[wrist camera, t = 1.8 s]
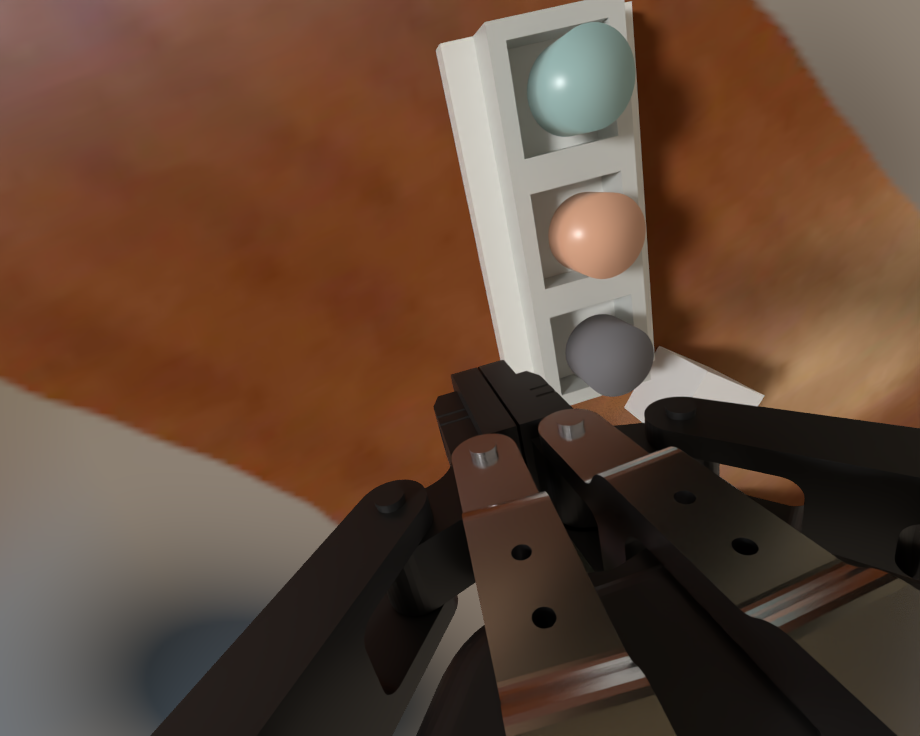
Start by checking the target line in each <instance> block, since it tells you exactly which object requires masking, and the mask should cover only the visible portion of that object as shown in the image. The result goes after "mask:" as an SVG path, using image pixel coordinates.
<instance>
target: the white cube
mask: <svg viewBox="0 0 920 736" xmlns="http://www.w3.org/2000/svg"><path fill="white" fill-rule="evenodd" d="M650 375H651V380H649V381H646V382H643V383H641V384H640V385H639V386H638V387H637V388H635V389H634V391H633V393H632V395H631V396H630V398H629V400H628V402H627V404H626V405H625V407H624V408H625V409H627V410H628V411H629V412H630V413H632V414H633V415H634V416H635V417H636V418H638V419H639V420H640V421H641V422H642V423H645V418H644V412H645V409H646V408H647V407H648V405H650V404H651V403H653V402H655V401H657V400H660V399H663V398H668V397H693V398H701V399H708V400H715V401H723V402H730V403H737V404H744V405H752V406H758V405H759V404H760V402H761V401H762V399H763V397H764V396H765V395H763V394H761V393H759V392H757V391H755V390H753V389H751V388H749V387H747V386H745V385H743V384H741V383H740V382H738V381H736V380H734V379H732V378H730V377H728V376H726V375H724V374H722V373H720V372H718V371H716V370H714V369H712V368H710V367H708V366H706V365H703V364H701V363H698V362H696V361H694V360H691V359H689V358H687V357H684V356H682V355H680V354H677V353H675V352H673V351H670V350H668V349H666V348H663V347H661V346H659V347H658V348H657V350H656V352H655V361H653V364H652V367H651V370H650Z"/></svg>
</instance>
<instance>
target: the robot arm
mask: <svg viewBox="0 0 920 736" xmlns="http://www.w3.org/2000/svg"><path fill="white" fill-rule="evenodd" d="M451 379H452V384H453V388H454V392H452V393H449V394H445V395H442V396H438V398H437V400H436V402H435V405H434V411H435V414H436V418H437V422H438V425H439V429H440V433H441V437H442V440H443V444H444V448H445V451H446V455H447V458H448V461H449V463H450V468H449V470H448V471H447V473H446V474H445V475H444V476H443V477H442V478H441V479H440V480H438V481H437V482H435V483H434V484H432V485H430V486H429V487H427V488H424V487H423V485H421V484H420V483H418V482H416V481H412V480H396V481H391V482H388V483H385V484H383V485H380V486H378V487H376V488H375V489H373V490H372V491H370V492H369V493H368V494H366V495H365V496H364V497H363V498H362V500H361V501H360V502H359V503H358V504H357V505H356V506H355V507H354V508H353V510H352V511H351V512H350V513H349V514H348V515H347V516H346V517H345V519H344V520H343V521H342V522H341V523H340V524H339V525H338V526H337V528H336V529H335V530H334V531H333V532H332V533H331V534H330V535H329V536H328V538H327V539H326V540H325V541H324V542H323V543H322V544H321V545H320V547H319V548H318V549H317V550H316V551H315V552H314V553H313V554H312V556H311V557H310V558H309V559H308V560H307V561H306V562H305V563H304V564H303V566H302V567H301V568H300V569H299V570H298V571H297V572H296V574H295V575H294V576H293V577H292V578H291V579H290V580H289V581H288V582H287V584H286V585H285V586H284V587H283V588H282V589H281V590H280V591H279V592H278V594H277V595H276V596H275V597H274V598H273V599H272V600H271V601H270V603H269V604H268V605H267V606H266V607H265V608H264V609H263V610H262V612H261V613H260V614H259V615H258V616H257V617H256V618H255V619H254V620H253V622H252V623H251V624H250V625H249V626H248V627H247V628H246V629H245V630H244V632H243V633H242V634H241V635H240V636H239V637H238V638H237V639H236V641H235V642H234V643H233V644H232V645H231V646H230V648H228V650H227V651H226V652H225V653H224V654H223V655H222V656H221V657H220V659H219V660H218V661H217V662H216V663H215V664H214V665H213V666H212V667H211V669H210V670H209V671H208V672H207V673H206V674H205V675H204V676H203V678H202V679H201V680H200V681H199V682H198V683H197V684H196V685H195V686H194V688H193V689H192V690H191V691H190V692H189V693H188V694H187V696H186V697H185V698H184V699H183V700H182V701H181V702H180V703H179V704H178V705H177V707H176V708H175V709H174V710H173V711H172V712H171V713H170V714H169V716H168V717H167V718H166V719H165V720H164V721H163V722H162V723H161V725H160V726H159V727H158V728H157V729H156V730H155V731H154V732H153V733H152V735H151V736H392V734H393V733H394V731H395V729H396V727H397V725H398V723H399V721H400V719H401V717H402V715H403V713H404V711H405V709H406V707H407V705H408V703H409V701H410V699H411V698H412V696H413V694H414V692H415V690H416V688H417V686H418V684H419V682H420V680H421V678H422V676H423V674H424V672H425V670H426V668H427V666H428V664H429V662H430V660H431V658H432V656H433V655H434V653H435V651H436V649H437V647H438V645H439V643H440V641H441V639H442V637H443V635H444V633H445V631H446V629H447V627H448V625H449V623H450V621H451V619H452V617H453V616H454V614H455V611H456V609H457V604H458V597H457V595H458V594H459V593H461V592H462V591H464V590H465V589H466V588H468V587H469V586H471V585H472V584H474V583H475V582H476V585H477V591H478V596H479V600H480V605H481V610H482V615H483V620H484V624H485V625H484V626H482V627H481V628H480V629H479V630H477V631H476V632H475V633H474V634H473V635H472V636H471V637H470V638H469V639H468V640H467V641H466V642H465V643H464V644H463V646H462V647H461V648H460V650H459V651H458V652H457V654H456V655H455V656H454V658H453V659H452V661H451V663H450V665H449V666H448V668H447V670H446V671H445V673H444V674H443V676H442V679H441V681H440V683H439V685H438V687H437V689H436V692H435V694H434V696H433V699H432V701H431V703H430V706H429V708H428V710H427V712H426V715H425V717H424V719H423V721H422V724H421V726H420V729H419V731H418V733H417V735H416V736H920V428H912V427H905V426H898V425H890V424H883V423H876V422H868V421H861V420H854V419H847V418H839V417H832V416H825V415H817V414H810V413H803V412H796V411H788V410H781V409H774V408H766V407H759V406H752V405H744V404H737V403H730V402H723V401H715V400H708V399H701V398H693V397H668V398H663V399H660V400H657V401H655V402H653V403H651V404H650V405H648V407H647V408H646V409H645V412H644V418H645V423H638V424H628V425H617V426H613V425H612V424H610V423H609V422H608V421H607V420H605V419H604V418H603V417H601V416H600V415H599V414H597V413H595V412H593V411H590V410H585V409H573V408H572V407H571V406H570V405H569V404H568V403H567V402H566V401H565V400H564V399H563V398H562V397H561V396H560V395H559V394H558V393H557V392H555V390H554V389H553V388H552V387H551V386H550V385H549V384H548V383H547V382H546V381H545V380H544V379H543V378H542V377H541V376H540V375H537V374H535V373H532V372H529V371H524V372H520V373H517V374H516V373H515V372H514V371H513V370H512V369H511V367H510V366H509V365H508V364H507V363H506V362H505V361H504V360H501V361H497V362H494V363H490V364H487V365H483V366H480V367H478V369H477V368H473V369H469V370H466V371H462V372H459V373H455V374H452V375H451ZM719 464H724V465H728V466H733V467H738V468H742V469H747V470H752V471H756V472H761V473H766V474H770V475H775V476H780V477H783V478H786V479H789V480H791V481H793V482H794V483H795V484H797V485H798V486H799V487H800V488H801V490H802V491H803V493H804V496H805V502H804V505H803V506H788V505H784V504H780V503H776V502H772V501H768V500H764V499H760V498H756V497H752V496H748V495H745V494H744V493H743V492H741V491H740V490H738V489H737V488H735V487H734V486H732V485H731V484H730V483H728V482H727V481H725V480H724V479H722V478H721V477H719Z"/></svg>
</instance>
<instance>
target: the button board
mask: <svg viewBox="0 0 920 736" xmlns="http://www.w3.org/2000/svg"><path fill="white" fill-rule="evenodd" d="M589 22H600V23H605V24H607V25H610V26H612V27H613V28H615V29H616V30H618V31H619V32H620V33H621V34H622V35H623V36H624V38H625V39H626V41H627V42H628V44H629V46H630V48H631V50H632V53H633V57H634V61H635V46H634V31H633V15H632V1H631V2H626V3H624V0H584V1H580V2H575V3H570V4H566V5H561V6H557V7H552V8H548V9H543V10H538V11H534V12H529V13H525V14H520V15H516V16H511V17H506V18H502V19H497V20H493V21H488V22H484V24H483V25H482V26H481V27H480V29H479V30H478V31H477V32H476V34H475V35H474V36H473V37H468V38H464V39H459V40H455V41H450V42H445V43H441V44H440V45H439V46H438V48H437V49H436V54H437V59H438V63H439V68H440V73H441V78H442V83H443V87H444V92H445V97H446V102H447V106H448V111H449V116H450V121H451V126H452V130H453V135H454V140H455V145H456V149H457V154H458V159H459V164H460V169H461V173H462V178H463V183H464V188H465V193H466V197H467V202H468V207H469V212H470V216H471V221H472V226H473V231H474V236H475V240H476V245H477V250H478V255H479V259H480V264H481V269H482V274H483V279H484V283H485V288H486V293H487V298H488V302H489V307H490V312H491V317H492V322H493V326H494V331H495V336H496V341H497V345H498V350H499V355H500V360H504V361H505V362H506V363H507V364H508V365H509V366H510V367H511V369H512V370H513V371H514V372H515V373H516V374H517V373H520V372H524V371H529V372H532V373H535V374H537V375H540V376H541V377H542V378H543V379H544V380H545V381H546V382H547V383H548V384H549V385H550V386H551V387H552V388H553V389H554V390H555V392H557V393H558V394H559V395H560V396H561V397H562V398H563V399H564V400H565V401H566V402H567V403H568V404H569V405H573V404H576V403H579V402H582V401H586V400H589V399H592V398H595V397H598V396H601V394H599V393H597V392H596V391H595V390H593V389H592V388H591V387H590V386H589V385H588V384H586V383H585V382H584V381H583V380H582V379H580V378H579V377H578V376H577V375H576V374H575V373H574V372H572V370H571V369H570V368H569V366H568V364H567V361H566V355H565V351H566V344H567V341H568V338H569V336H570V334H571V333H572V331H573V330H574V328H575V327H576V326H577V325H578V324H579V323H581V322H582V321H583V320H585V319H587V318H588V317H591V316H593V315H598V314H608V315H612V316H615V317H617V318H619V319H621V320H623V321H625V322H627V323H629V324H631V325H633V326H635V327H637V328H639V329H640V330H642V331H643V332H645V333H646V334H647V335H648V336H649V338H650V340H651V342H652V344H653V349H654V339H653V324H652V308H651V293H650V277H649V262H648V246H647V231H646V235H645V241H644V245H643V247H642V250H641V252H640V254H639V256H638V257H637V259H636V260H635V262H634V263H633V264H632V265H631V266H630V267H629V268H628V269H627V270H626V271H624V272H623V273H621V274H619V275H617V276H615V277H612V278H608V279H596V278H592V277H589V276H586V275H584V274H581V273H579V272H576V271H574V270H571V269H568V268H566V267H564V266H563V265H561V264H560V263H559V262H558V261H557V260H556V259H555V257H554V256H553V254H552V252H551V249H550V246H549V240H548V231H549V226H550V222H551V219H552V217H553V215H554V213H555V211H556V210H557V208H558V207H559V206H560V205H561V204H562V203H563V202H564V201H565V200H566V199H568V198H569V197H571V196H573V195H575V194H578V193H581V192H614V193H620V194H624V195H626V196H628V197H630V198H631V199H633V200H634V201H635V202H636V203H637V204H638V206H639V207H640V209H641V211H642V213H643V215H644V219H645V224H646V216H645V200H644V185H643V169H642V154H641V139H640V123H639V108H638V92H637V77H636V76H635V85H634V90H633V93H632V96H631V99H630V101H629V103H628V105H627V107H626V109H625V110H624V111H623V113H622V114H621V115H620V116H619V118H618V119H617V120H615V121H614V122H613V123H612V124H610V125H609V126H607V127H605V128H603V129H600V130H597V131H593V132H588V133H584V134H579V135H575V136H570V137H560V136H555V135H552V134H550V133H548V132H547V131H545V130H544V129H543V128H542V127H541V126H540V125H539V124H538V123H537V122H536V120H535V119H534V117H533V115H532V113H531V110H530V107H529V104H528V99H527V83H528V78H529V73H530V71H531V68H532V66H533V64H534V62H535V60H536V59H537V57H538V56H539V55H540V53H541V52H542V51H543V50H544V49H545V48H546V47H548V46H549V45H551V44H552V43H554V42H555V41H556V40H558V39H559V38H561V37H562V36H563V35H565V34H566V33H568V32H569V31H571V30H572V29H573V28H575V27H577V26H579V25H581V24H584V23H589ZM635 72H636V61H635ZM653 361H655V354H654V360H653ZM649 380H651V375H650V372H649V374H648V375H647V377H646V378H645V380H644V381H643V382H646V381H649ZM643 382H642V383H643Z"/></svg>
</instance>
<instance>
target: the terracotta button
mask: <svg viewBox="0 0 920 736" xmlns="http://www.w3.org/2000/svg"><path fill="white" fill-rule="evenodd" d="M645 235H646V224H645V219H644V215H643V213H642V211H641V209H640V207H639V206H638V204H637V203H636V202H635V201H634V200H633V199H631V198H630V197H628V196H626V195H624V194H620V193H614V192H581V193H578V194H575V195H573V196H571V197H569V198H568V199H566V200H565V201H564V202H563V203H562V204H561V205H560V206H559V207H558V208H557V210H556V211H555V213H554V215H553V217H552V219H551V222H550V226H549V231H548V240H549V246H550V249H551V252H552V254H553V256H554V257H555V259H556V260H557V261H558V262H559V263H560V264H561V265H563V266H564V267H566V268H568V269H571V270H574V271H576V272H579V273H581V274H584V275H586V276H589V277H592V278H596V279H608V278H612V277H615V276H617V275H619V274H621V273H623V272H624V271H626V270H627V269H628V268H629V267H630V266H631V265H632V264H633V263H634V262H635V260H636V259H637V257H638V256H639V254H640V252H641V250H642V247H643V245H644V241H645Z"/></svg>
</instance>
